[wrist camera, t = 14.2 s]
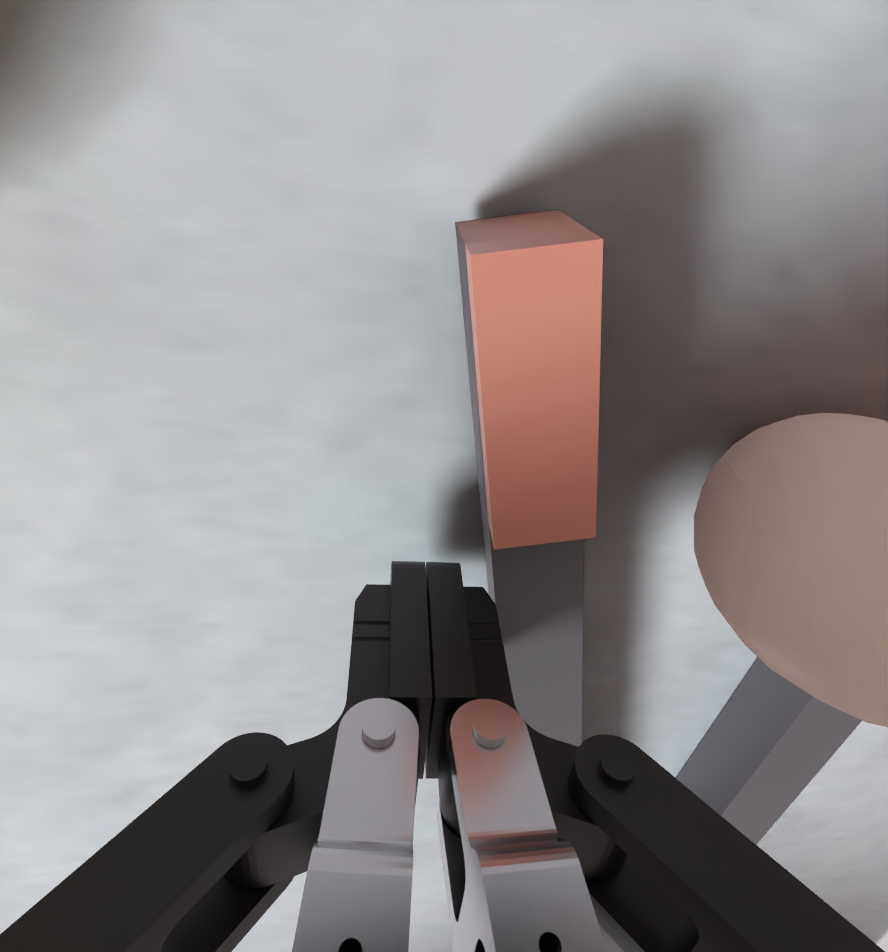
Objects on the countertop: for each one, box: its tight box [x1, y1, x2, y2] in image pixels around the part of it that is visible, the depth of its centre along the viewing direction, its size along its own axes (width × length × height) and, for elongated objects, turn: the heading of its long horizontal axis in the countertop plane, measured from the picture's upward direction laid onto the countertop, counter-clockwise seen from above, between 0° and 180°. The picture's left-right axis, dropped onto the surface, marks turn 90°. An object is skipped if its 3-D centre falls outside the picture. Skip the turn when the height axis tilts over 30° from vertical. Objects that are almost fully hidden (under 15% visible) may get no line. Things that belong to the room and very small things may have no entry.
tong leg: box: [455, 210, 603, 747], centre depth 15 cm, size 22×2×3 cm, turn 6°
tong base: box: [599, 658, 862, 952], centre depth 17 cm, size 27×5×3 cm, turn 166°
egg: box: [694, 413, 888, 727], centre depth 11 cm, size 5×5×7 cm
